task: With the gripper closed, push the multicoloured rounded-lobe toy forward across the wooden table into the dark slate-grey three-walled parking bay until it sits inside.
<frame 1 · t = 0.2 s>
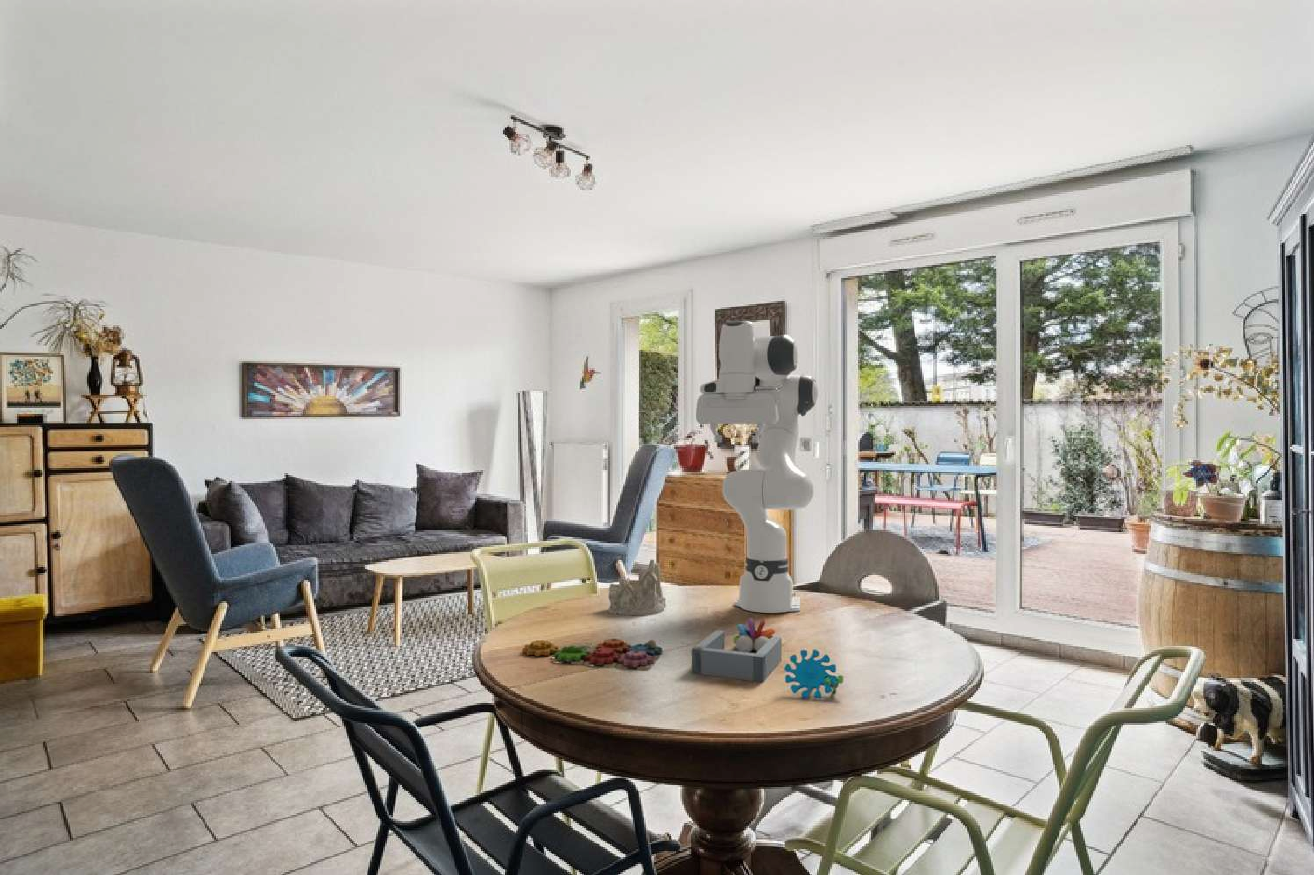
hand: (736, 442, 189), 47 cm above the table, tool pointing down, fingers open, 8 cm apart
parking bay: (738, 665, 164), on the table
gear puzzle: (590, 658, 171), on the table
ceramic cottage: (638, 609, 216), on the table
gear: (813, 694, 147), on the table
multicoloured rounded-lobe toy: (754, 651, 176), on the table
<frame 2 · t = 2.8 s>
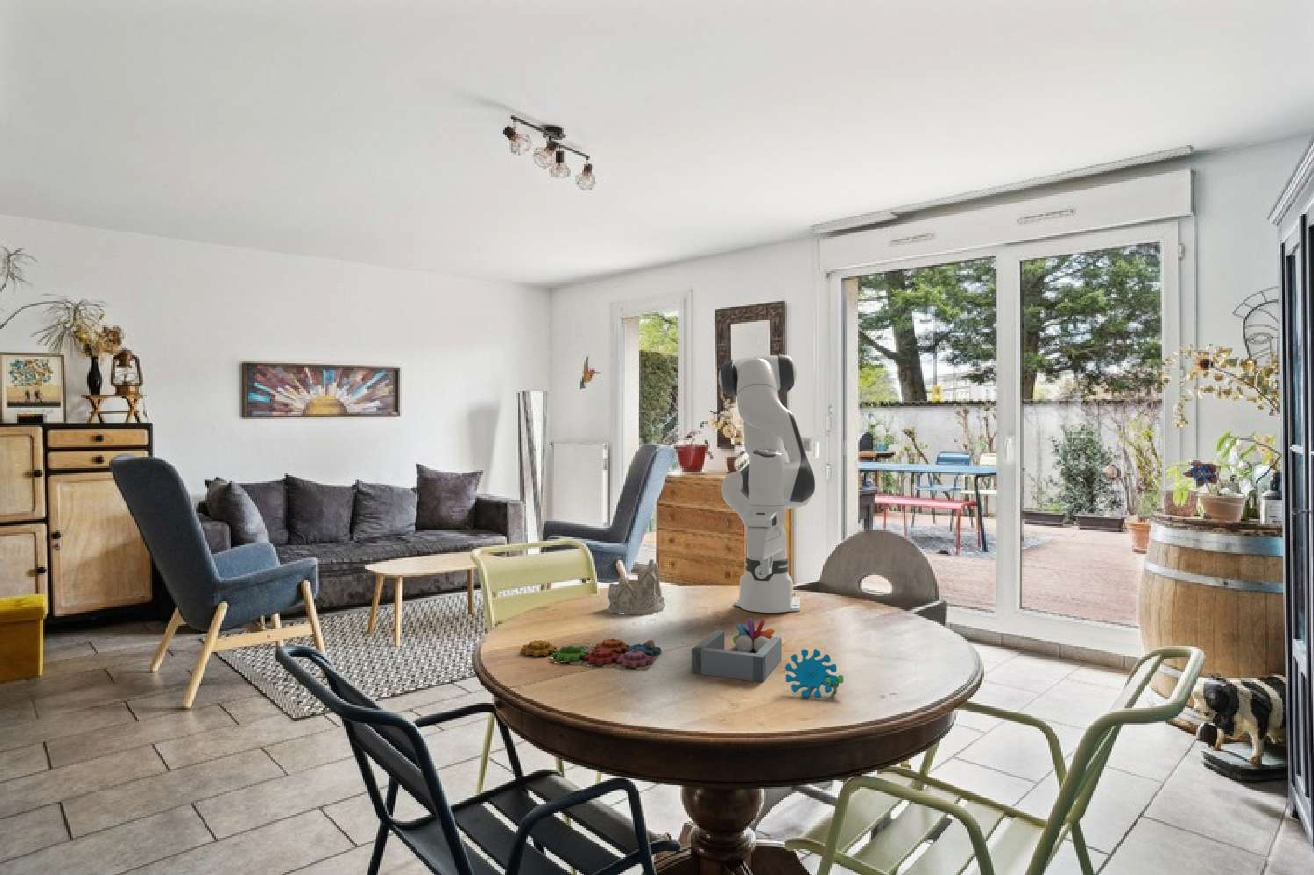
hand: (766, 574, 185), 16 cm above the table, tool pointing down, fingers closed
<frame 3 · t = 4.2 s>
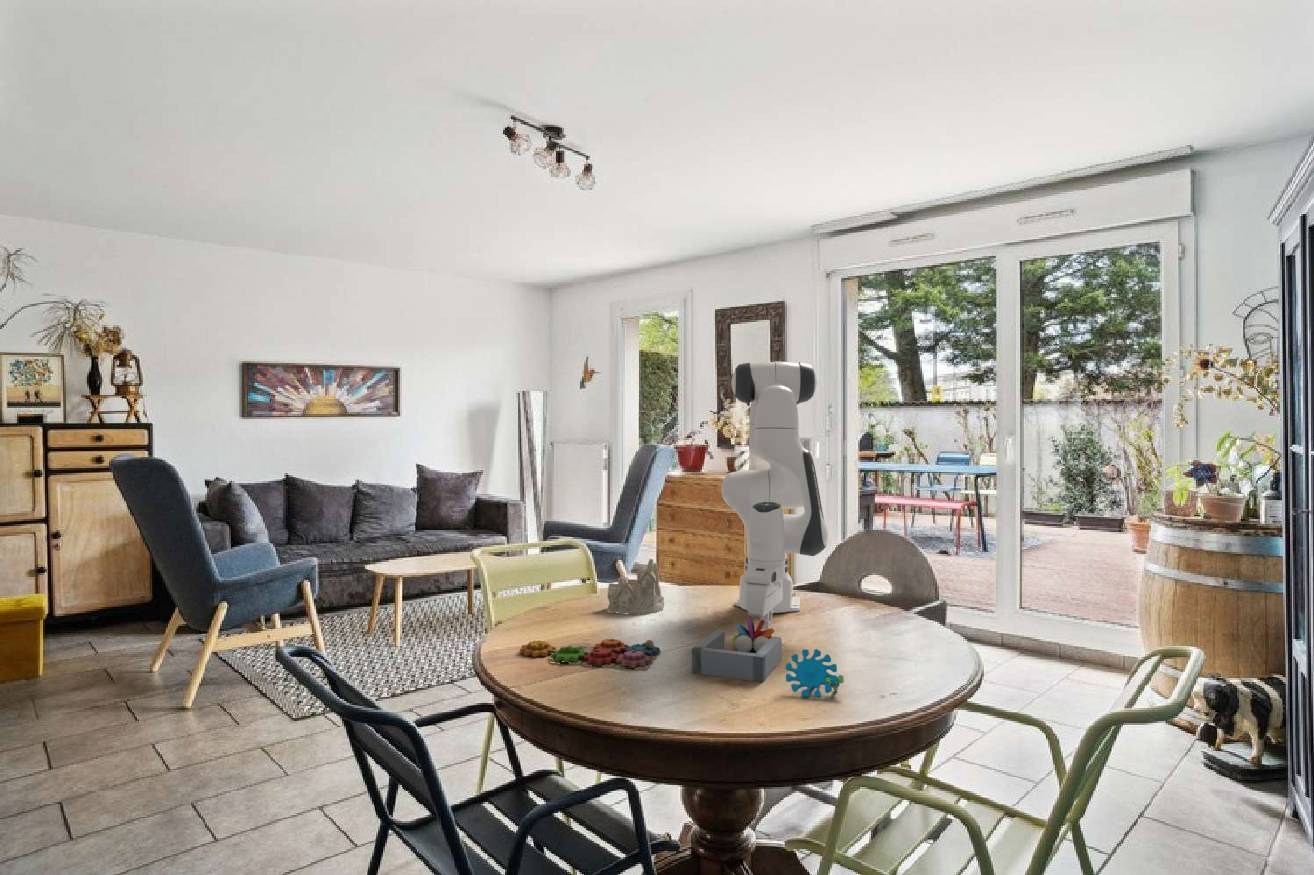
hand: (766, 627, 185), 3 cm above the table, tool pointing down, fingers closed
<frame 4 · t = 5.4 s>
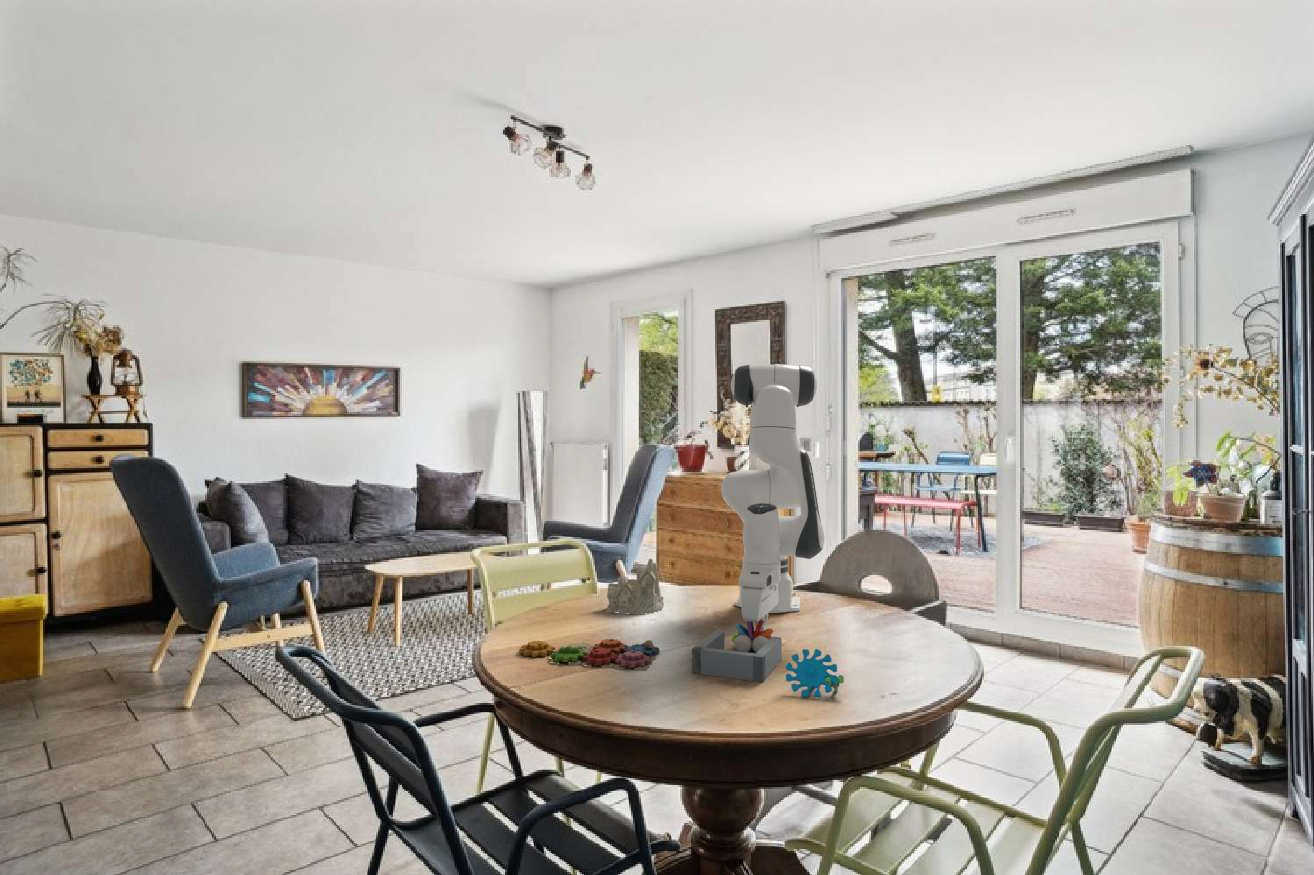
hand: (761, 632, 181), 3 cm above the table, tool pointing down, fingers closed
multicoloured rounded-lobe toy: (752, 651, 176), on the table, touching gripper
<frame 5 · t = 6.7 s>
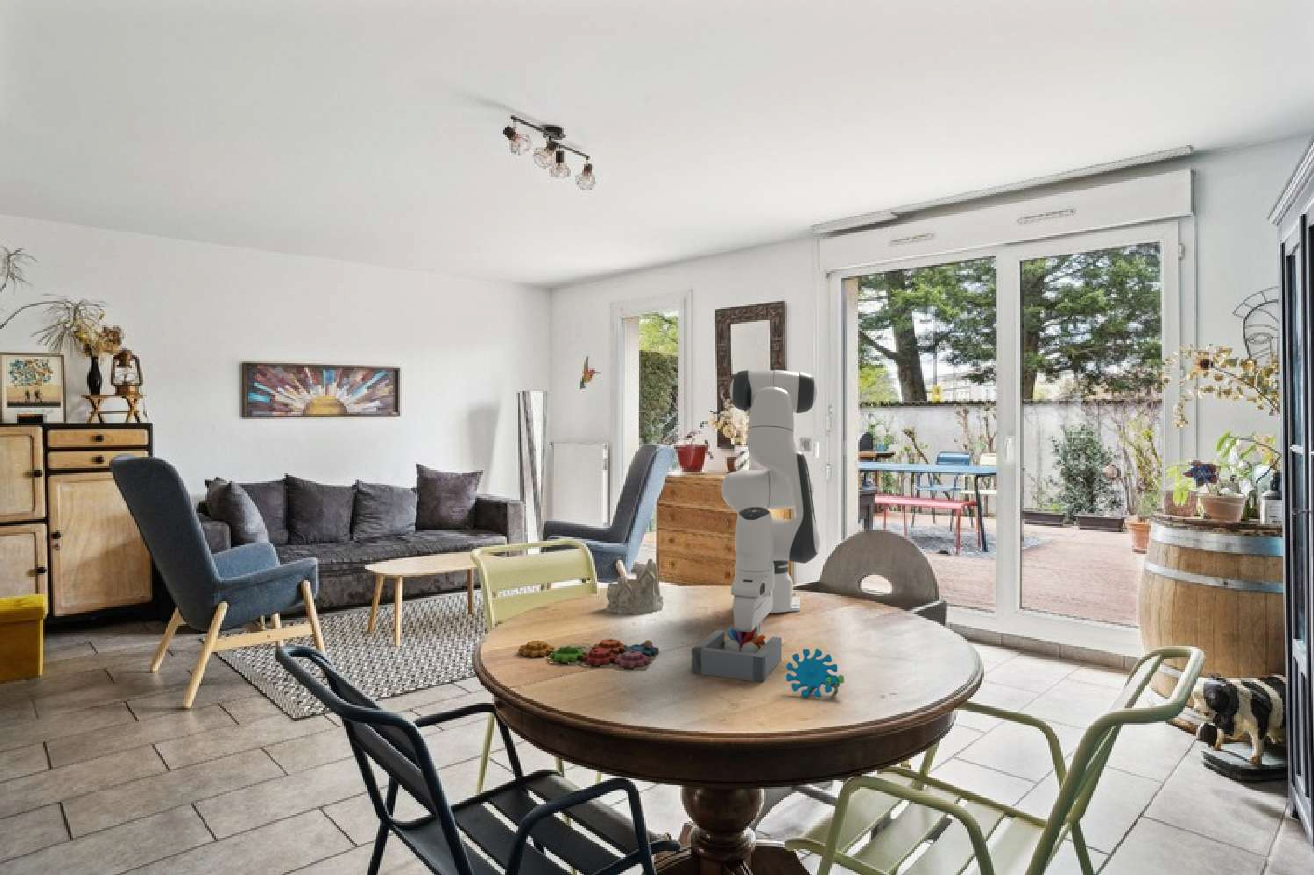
hand: (755, 640, 175), 2 cm above the table, tool pointing down, fingers closed, pressing on multicoloured rounded-lobe toy
multicoloured rounded-lobe toy: (744, 657, 171), on the table, touching gripper
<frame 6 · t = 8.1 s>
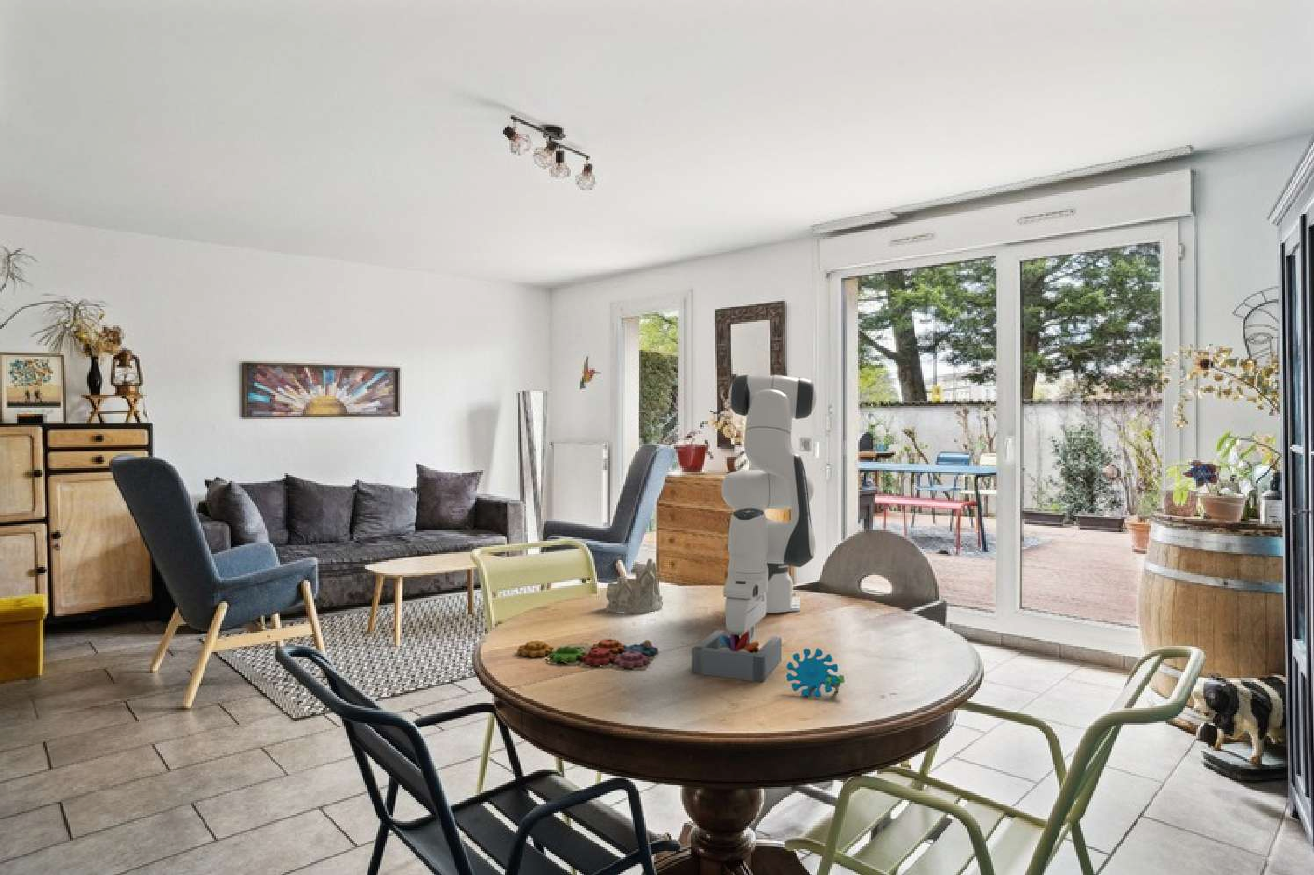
hand: (747, 645, 170), 3 cm above the table, tool pointing down, fingers closed
multicoloured rounded-lobe toy: (737, 664, 165), on the table, touching gripper
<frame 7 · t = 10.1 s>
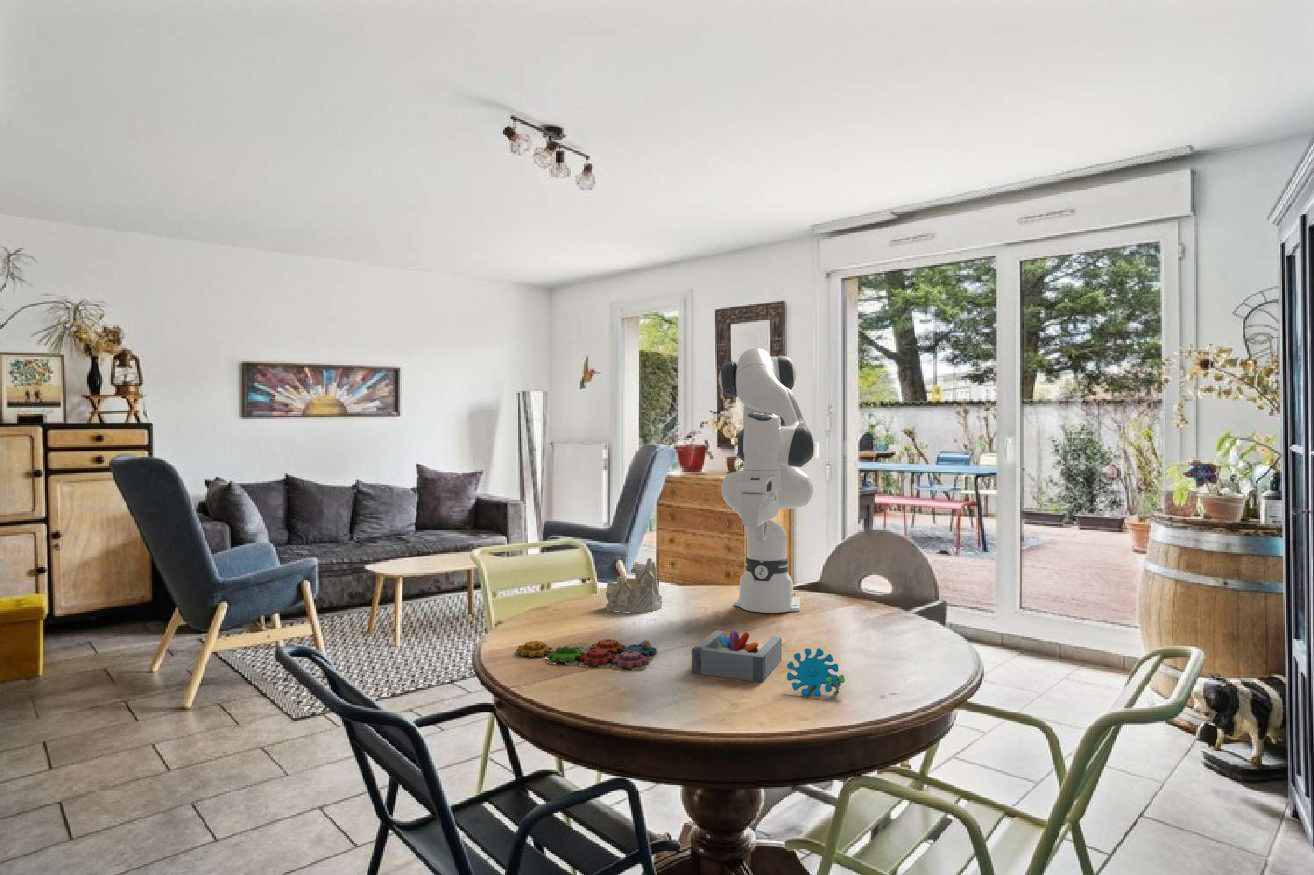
hand: (761, 540, 181), 24 cm above the table, tool pointing down, fingers closed
multicoloured rounded-lobe toy: (737, 665, 165), on the table
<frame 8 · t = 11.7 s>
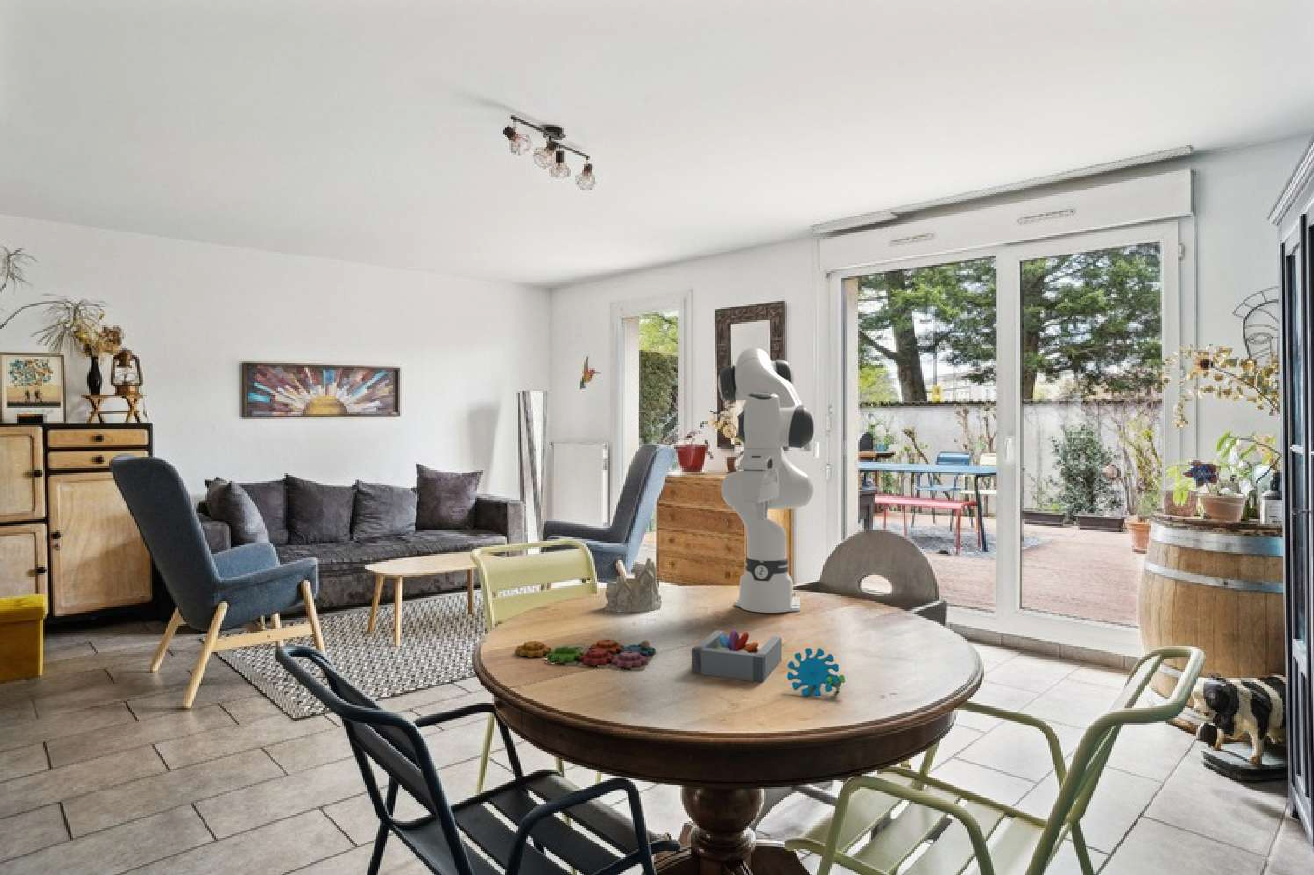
hand: (762, 519, 181), 29 cm above the table, tool pointing down, fingers closed
at the end: multicoloured rounded-lobe toy inside the target area (2.0 cm from its centre), on the table; multicoloured rounded-lobe toy tilted 0° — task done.
